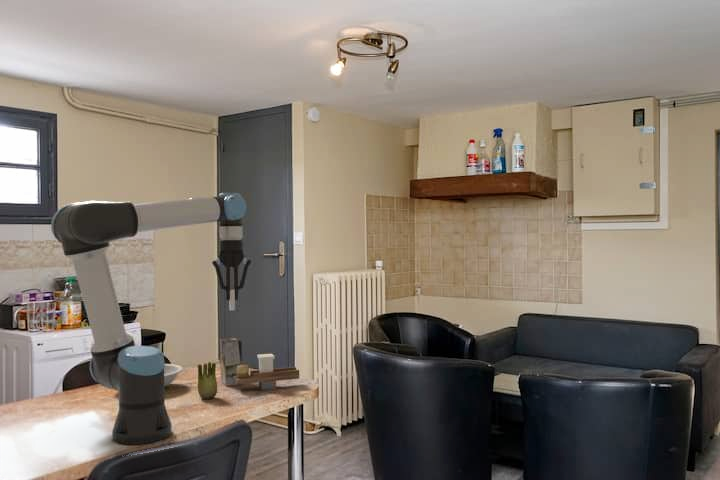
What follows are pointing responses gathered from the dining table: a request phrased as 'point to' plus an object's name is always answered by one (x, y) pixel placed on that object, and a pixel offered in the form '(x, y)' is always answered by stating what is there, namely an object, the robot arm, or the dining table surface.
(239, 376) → the beam
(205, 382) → the fennel bulb
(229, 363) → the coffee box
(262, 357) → the white rounded block
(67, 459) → the dining table surface
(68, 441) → the dining table surface
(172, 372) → the soup bowl
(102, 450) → the dining table surface
